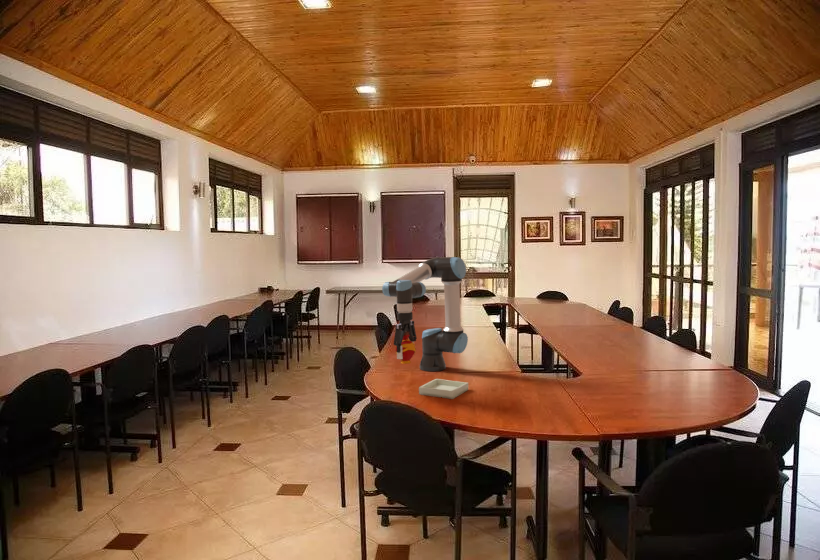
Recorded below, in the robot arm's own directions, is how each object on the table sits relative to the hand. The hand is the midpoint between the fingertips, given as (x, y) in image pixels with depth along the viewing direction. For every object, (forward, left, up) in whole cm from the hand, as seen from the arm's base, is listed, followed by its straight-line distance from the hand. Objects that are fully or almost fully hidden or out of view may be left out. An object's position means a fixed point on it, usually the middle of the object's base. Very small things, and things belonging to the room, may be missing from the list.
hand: (405, 356), depth 263 cm
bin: (-9, +16, -18) cm, 26 cm away
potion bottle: (0, 0, -3) cm, 3 cm away
